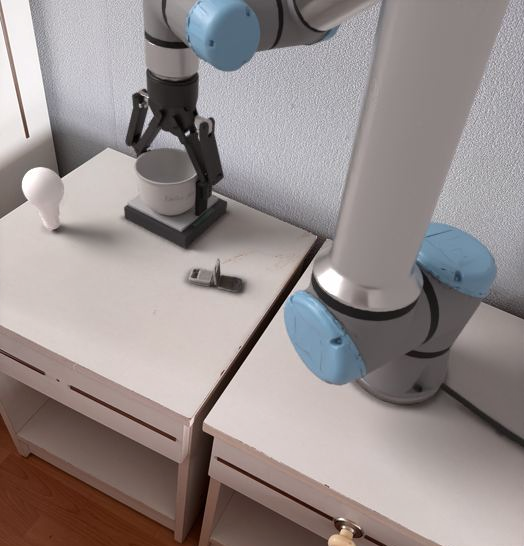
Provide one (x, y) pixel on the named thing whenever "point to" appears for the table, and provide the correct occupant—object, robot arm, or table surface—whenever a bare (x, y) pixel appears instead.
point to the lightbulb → (44, 194)
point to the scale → (176, 220)
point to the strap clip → (214, 278)
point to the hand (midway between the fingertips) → (174, 199)
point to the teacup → (166, 180)
